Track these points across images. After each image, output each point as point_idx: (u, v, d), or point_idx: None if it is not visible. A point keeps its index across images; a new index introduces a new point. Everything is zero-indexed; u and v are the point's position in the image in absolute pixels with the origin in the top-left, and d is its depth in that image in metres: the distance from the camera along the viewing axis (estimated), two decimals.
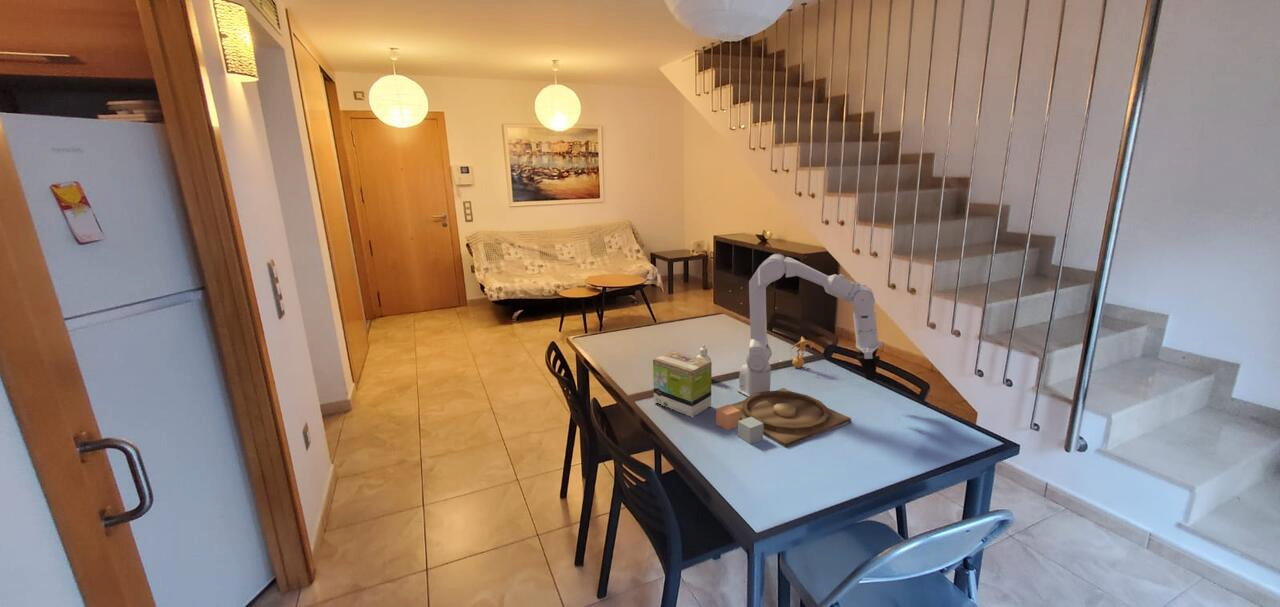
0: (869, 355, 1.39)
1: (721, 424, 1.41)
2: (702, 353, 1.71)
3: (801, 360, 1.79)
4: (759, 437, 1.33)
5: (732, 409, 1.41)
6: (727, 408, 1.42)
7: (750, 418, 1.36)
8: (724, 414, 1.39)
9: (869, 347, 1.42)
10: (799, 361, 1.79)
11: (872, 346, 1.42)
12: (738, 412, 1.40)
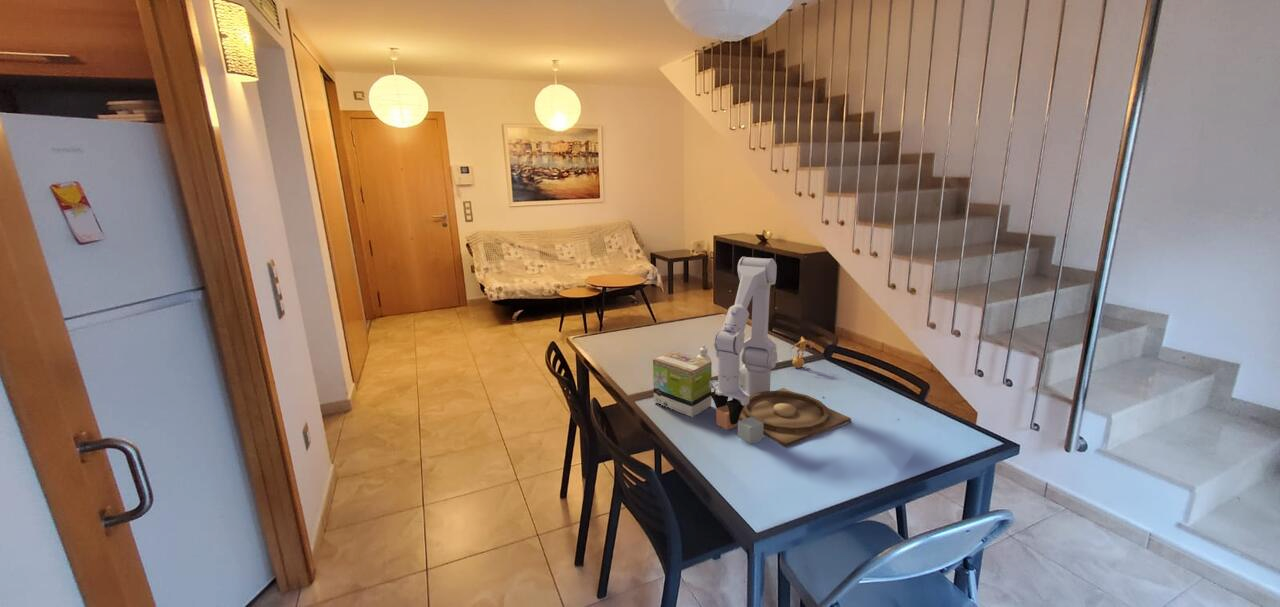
0: None
1: (721, 424, 1.41)
2: (702, 353, 1.71)
3: (801, 360, 1.79)
4: (759, 437, 1.33)
5: None
6: (727, 408, 1.42)
7: (750, 418, 1.36)
8: (724, 414, 1.39)
9: None
10: (799, 361, 1.79)
11: None
12: None
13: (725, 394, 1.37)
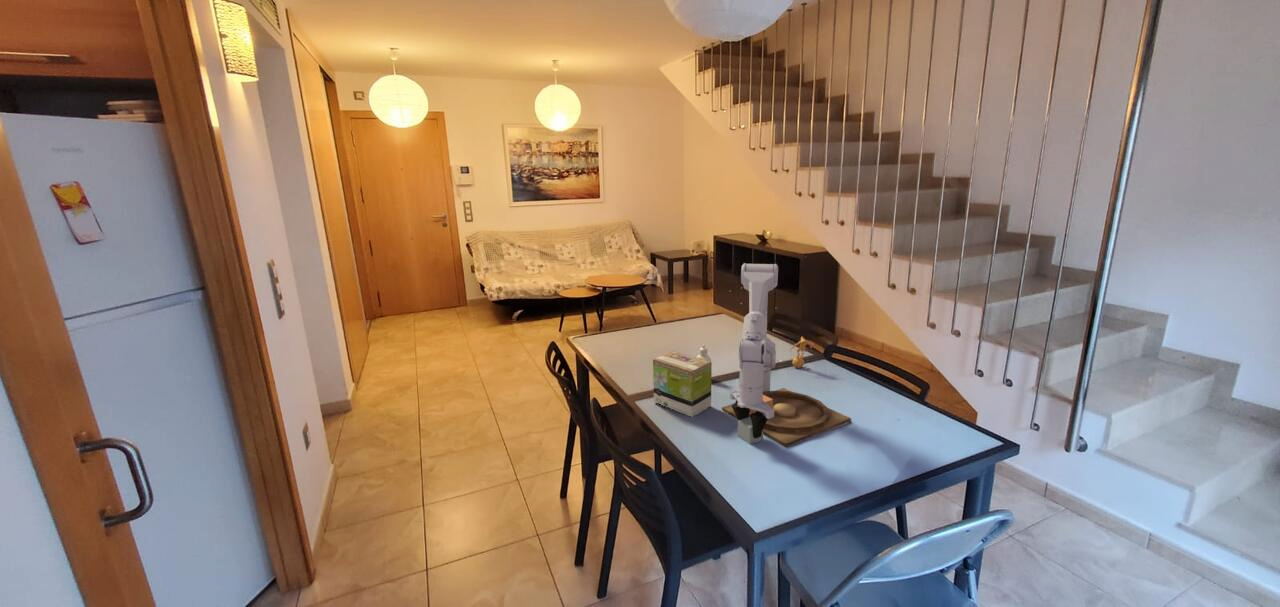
0: None
1: None
2: (702, 353, 1.71)
3: (801, 360, 1.79)
4: (759, 437, 1.33)
5: (765, 398, 1.45)
6: None
7: (750, 418, 1.36)
8: None
9: None
10: (799, 361, 1.79)
11: None
12: (771, 401, 1.44)
13: (748, 406, 1.29)
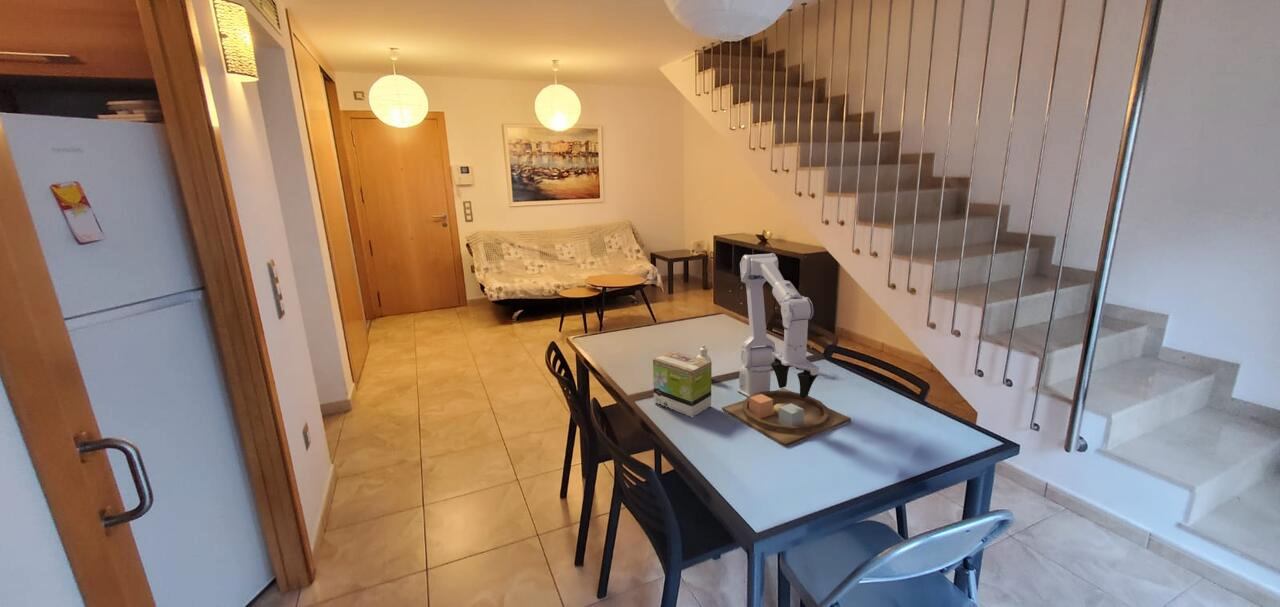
0: None
1: (754, 413, 1.45)
2: (702, 353, 1.71)
3: None
4: (800, 423, 1.38)
5: (765, 398, 1.45)
6: (760, 398, 1.45)
7: (790, 404, 1.40)
8: (757, 403, 1.43)
9: None
10: None
11: None
12: (771, 401, 1.44)
13: (792, 364, 1.32)
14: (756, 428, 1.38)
